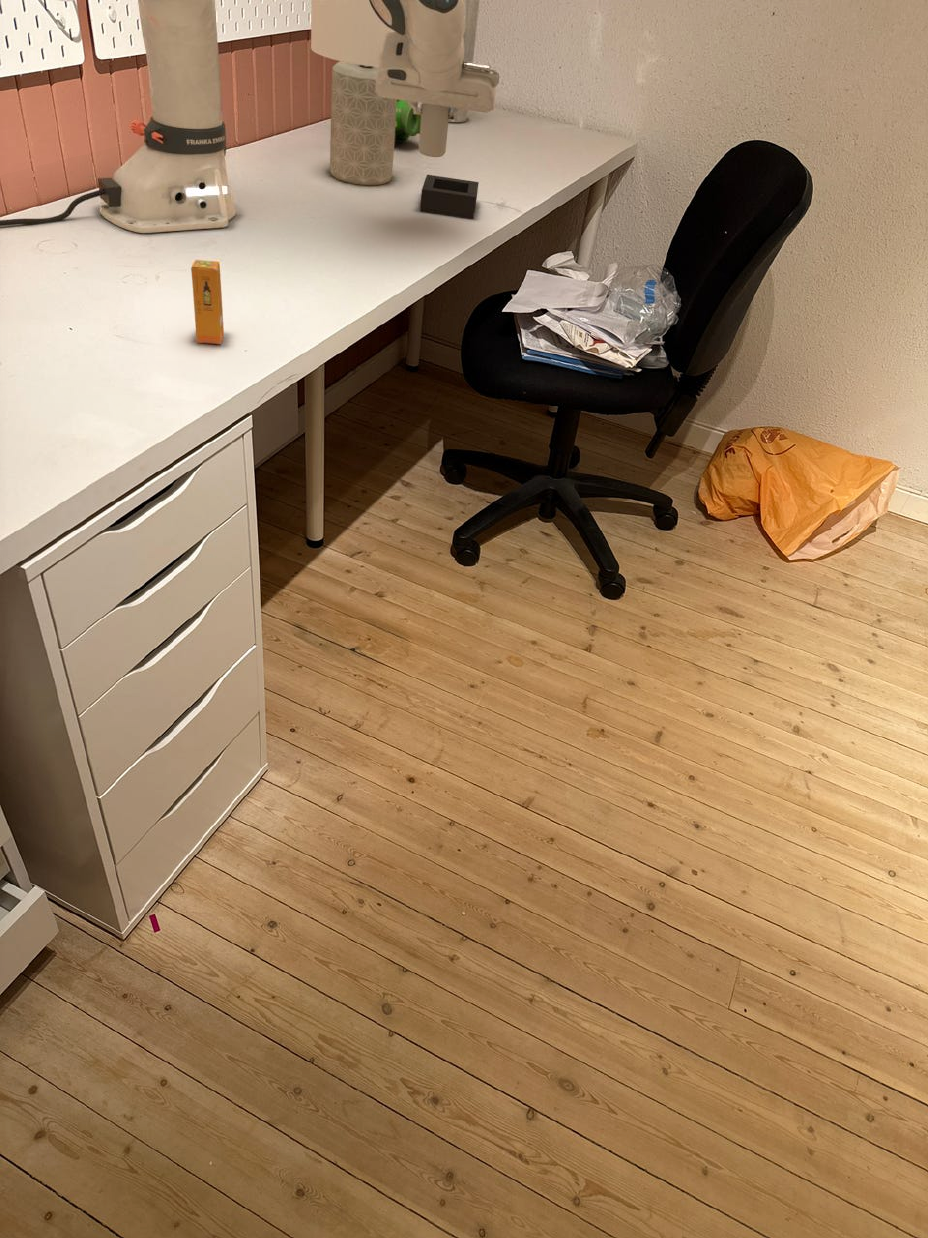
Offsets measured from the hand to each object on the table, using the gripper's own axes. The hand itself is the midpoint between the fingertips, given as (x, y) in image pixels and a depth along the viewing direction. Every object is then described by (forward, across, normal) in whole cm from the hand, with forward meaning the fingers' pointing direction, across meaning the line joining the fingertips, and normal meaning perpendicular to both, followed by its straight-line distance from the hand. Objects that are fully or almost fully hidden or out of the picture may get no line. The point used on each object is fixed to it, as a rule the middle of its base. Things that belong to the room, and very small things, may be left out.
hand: (435, 113), depth 161 cm
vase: (+70, +3, -45) cm, 83 cm away
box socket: (+18, -4, +7) cm, 20 cm away
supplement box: (-33, +23, +58) cm, 70 cm away
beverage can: (+4, 0, +5) cm, 7 cm away
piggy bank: (+48, +15, -23) cm, 55 cm away
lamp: (+26, +15, -2) cm, 31 cm away
